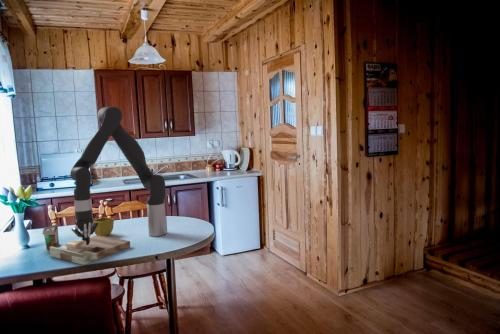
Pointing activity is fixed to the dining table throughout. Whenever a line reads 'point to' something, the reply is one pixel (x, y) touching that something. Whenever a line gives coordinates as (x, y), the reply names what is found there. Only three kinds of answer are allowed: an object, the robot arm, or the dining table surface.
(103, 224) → the flower pot
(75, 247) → the block
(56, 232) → the food container
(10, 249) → the dining table surface
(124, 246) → the wooden puzzle tray
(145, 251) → the dining table surface
